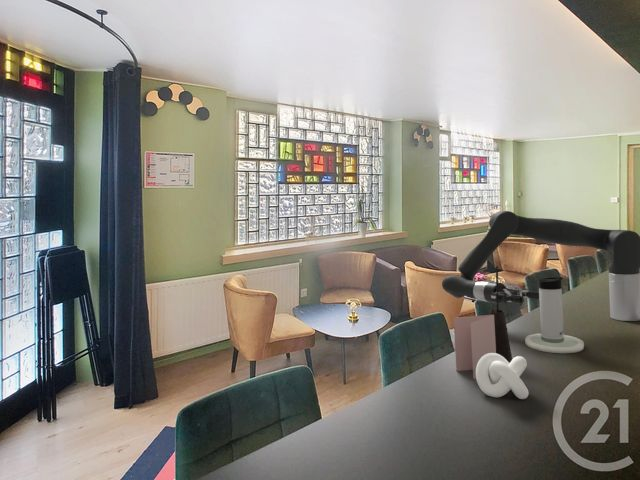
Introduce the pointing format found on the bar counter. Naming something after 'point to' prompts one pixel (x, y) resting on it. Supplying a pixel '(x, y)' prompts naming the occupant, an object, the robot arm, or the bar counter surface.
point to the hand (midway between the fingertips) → (531, 297)
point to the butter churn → (501, 329)
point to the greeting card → (473, 340)
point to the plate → (555, 344)
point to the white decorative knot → (501, 375)
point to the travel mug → (551, 309)
